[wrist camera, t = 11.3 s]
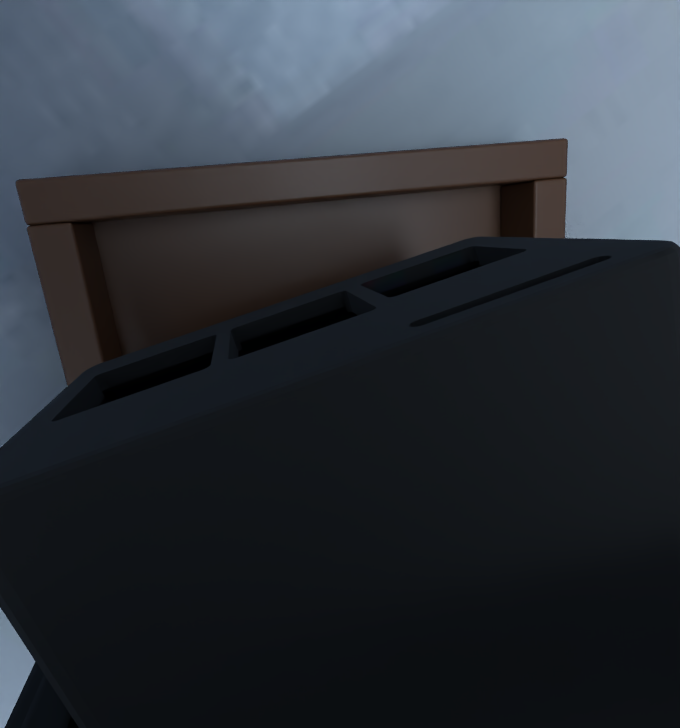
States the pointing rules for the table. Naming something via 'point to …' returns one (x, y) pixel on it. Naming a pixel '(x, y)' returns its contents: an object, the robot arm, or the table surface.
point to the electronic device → (371, 505)
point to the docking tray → (263, 233)
